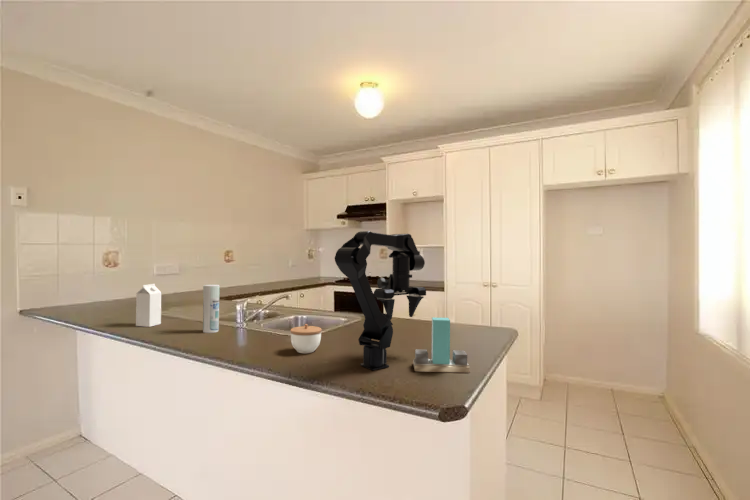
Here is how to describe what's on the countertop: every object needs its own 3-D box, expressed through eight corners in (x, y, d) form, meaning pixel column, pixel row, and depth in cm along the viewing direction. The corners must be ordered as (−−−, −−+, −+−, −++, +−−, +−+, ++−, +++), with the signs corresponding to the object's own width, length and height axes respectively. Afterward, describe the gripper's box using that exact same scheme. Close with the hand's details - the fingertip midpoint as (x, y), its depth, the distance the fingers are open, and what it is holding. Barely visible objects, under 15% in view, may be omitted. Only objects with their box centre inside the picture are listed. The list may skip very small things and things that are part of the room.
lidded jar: (327, 350, 131) (327, 323, 131) (305, 357, 122) (305, 328, 122) (306, 345, 137) (306, 320, 137) (283, 351, 128) (284, 324, 129)
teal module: (432, 363, 110) (433, 320, 110) (431, 359, 114) (431, 317, 114) (449, 364, 109) (450, 320, 110) (447, 360, 114) (448, 317, 114)
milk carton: (135, 326, 168) (136, 284, 169) (147, 323, 175) (148, 283, 176) (149, 327, 167) (150, 285, 167) (161, 324, 174) (161, 283, 174)
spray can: (208, 329, 163) (209, 284, 164) (222, 330, 162) (222, 284, 162) (199, 332, 157) (199, 285, 157) (212, 333, 156) (213, 285, 156)
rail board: (414, 371, 109) (414, 354, 109) (413, 364, 116) (413, 348, 116) (469, 372, 108) (469, 355, 108) (464, 365, 115) (465, 349, 115)
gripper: (405, 269, 135) (405, 312, 135) (364, 270, 124) (363, 317, 124) (427, 271, 126) (427, 316, 126) (384, 272, 115) (384, 322, 115)
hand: (400, 318), depth 123 cm, fingers open, 9 cm apart
